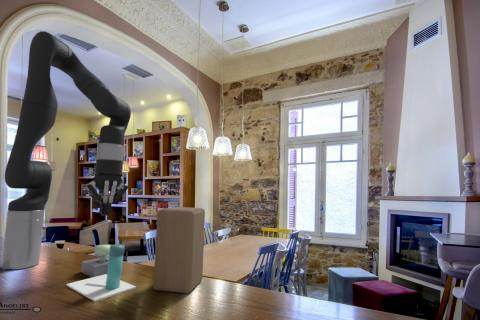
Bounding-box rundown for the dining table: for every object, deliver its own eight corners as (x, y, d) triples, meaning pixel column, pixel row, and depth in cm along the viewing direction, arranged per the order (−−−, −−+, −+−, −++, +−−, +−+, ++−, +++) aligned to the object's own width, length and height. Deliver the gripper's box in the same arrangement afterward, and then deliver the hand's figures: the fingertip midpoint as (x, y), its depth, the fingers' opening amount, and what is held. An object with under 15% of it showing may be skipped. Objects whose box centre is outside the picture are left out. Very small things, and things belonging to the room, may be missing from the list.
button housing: (80, 272, 76) (81, 261, 76) (107, 265, 82) (108, 256, 83) (93, 277, 71) (94, 266, 72) (121, 270, 78) (122, 260, 78)
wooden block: (170, 277, 73) (173, 206, 75) (203, 280, 71) (206, 207, 73) (151, 291, 63) (156, 209, 65) (189, 295, 61) (192, 210, 63)
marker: (102, 286, 63) (107, 245, 64) (115, 283, 66) (120, 243, 67) (109, 291, 61) (114, 248, 62) (122, 287, 64) (127, 246, 65)
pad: (66, 285, 65) (66, 283, 65) (105, 275, 73) (105, 273, 73) (94, 301, 57) (95, 299, 57) (135, 288, 65) (135, 286, 65)
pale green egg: (90, 265, 76) (92, 246, 77) (105, 262, 80) (106, 243, 81) (97, 268, 74) (99, 248, 75) (112, 264, 77) (114, 245, 78)
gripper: (123, 161, 88) (119, 213, 86) (81, 157, 77) (75, 215, 75) (136, 161, 83) (131, 215, 81) (93, 156, 73) (87, 218, 71)
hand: (104, 215), depth 78 cm, fingers closed
